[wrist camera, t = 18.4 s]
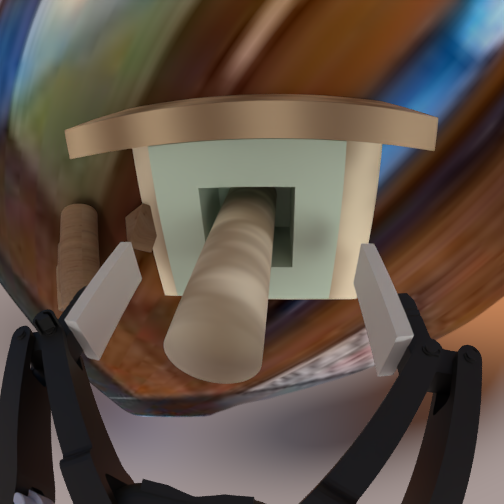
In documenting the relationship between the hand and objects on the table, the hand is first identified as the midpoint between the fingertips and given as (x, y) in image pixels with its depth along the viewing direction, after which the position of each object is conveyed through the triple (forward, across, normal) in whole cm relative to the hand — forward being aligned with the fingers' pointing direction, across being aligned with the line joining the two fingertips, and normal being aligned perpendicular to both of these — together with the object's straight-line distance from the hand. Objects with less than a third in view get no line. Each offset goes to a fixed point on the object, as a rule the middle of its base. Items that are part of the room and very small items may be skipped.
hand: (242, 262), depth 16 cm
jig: (+12, 0, +2) cm, 12 cm away
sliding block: (+11, 0, 0) cm, 11 cm away
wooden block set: (+12, +19, +4) cm, 23 cm away
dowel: (+10, 0, 0) cm, 10 cm away
